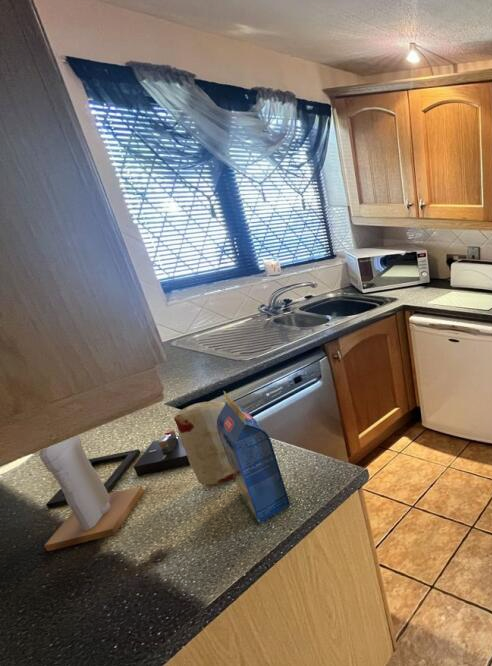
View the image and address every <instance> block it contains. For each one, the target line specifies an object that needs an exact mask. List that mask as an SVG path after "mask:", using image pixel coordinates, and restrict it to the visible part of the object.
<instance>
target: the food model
mask: <svg viewBox="0 0 492 666" xmlns="http://www.w3.org/2000/svg"><path fill="white" fill-rule="evenodd" d="M225 404H226V402H224V401H218V400H217V401H211V402H209V401H202V402H197V403H193V404H191V405H188V406H186V407H184V408H182V409H181V410H180V411H178V412H177V414H175V416H174V417H173V419H174V422H175V425H176V428H177V431H178V432H177V433H178V436H180V440H181V443H182V446H183V448H184V450H185V452H186V454H187V457H188V460H189V463H190V468H191V469H192V471H193V473H194V474H195V477H196V481H197V483H199V484H200V485H208V486H209V485H216V484H223V483H225V482H229V481H232V480H235V478H234V475H233V472H232V469H231V467H230V464H229V461H228V458H227V455H226V453H225V450H224V447H223V444H222V441H221V439H220V436H219V433H218V430H217V418H218V416H219V414H220V412H221V411H222V409H223V407H224V406H225Z"/></svg>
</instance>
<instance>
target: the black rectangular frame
mask: <svg viewBox="0 0 492 666" xmlns="http://www.w3.org/2000/svg"><path fill="white" fill-rule="evenodd" d="M141 453H142V451H140V449H139V448H138V449H132V450H128V451H122V452H117V453H113V454H108V455H102V456H97V457H93V458H92V457H91V458H88V460H89V461H90V463H91V465H92V467H93V468H94V467H95V466H99V465H103V464H110V463H114V462H120V461H121V462H120V464H119V465H118V467H116V469H115V470H114V471H113V472H112V474H111V475H109V477H108V479H107V480H106V481H105V482H104V483H103V484H104V486H105V488H106V490H107V492H108V493H112V490H113V489H114V488H115V486H116V485H117V484H118V483H119V482H120V480H121V479H122V478H123V477H124V475H125V474H126V472H127V471H128V470H129V469H130V467H131V466H132V465H133V463H134V462H135V461H136V460H137V458H138V457H139V456H140V454H141ZM66 505H68V503H67V501H66V498H65V495H64V493H63V491H62V489H61V488H60V489H59V490H58V491H57V492H56V493H55V494H54V495H53V496H52V497H51V498H50V499H49V500H48V501H47V502H46V503H45V506H46V507H47V509H53V508H56V507H61V506H66Z"/></svg>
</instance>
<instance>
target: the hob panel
mask: <svg viewBox="0 0 492 666" xmlns="http://www.w3.org/2000/svg"><path fill="white" fill-rule="evenodd" d="M176 437H177V439H178V443H177V444H176V446H175V447H174V449H173V450H172V452H170V453H166V454H163V452H162V450H161V448H160V445H159V443H158V442H159V441H160V439H156V440H152V441H151V443H150V444H149V445H148V447H147V448H146V450H145V451H144V452H143V453H142V455H141V456H140V457H139V459H138V460H137V461H136V462H135V464H134V465H133V470H134V472H135V474H136V476H137V477H138V478H140V477H144V476H148V475H154V474H158V473H162V472H165V471H172V470H175V469H180V468H186V467H189V466H190V467H191V465H190V463H189V460H188V457H187V454H186V452H185V450H184V448H183V446H182V443H181V440H180V436H179V435H176Z"/></svg>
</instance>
